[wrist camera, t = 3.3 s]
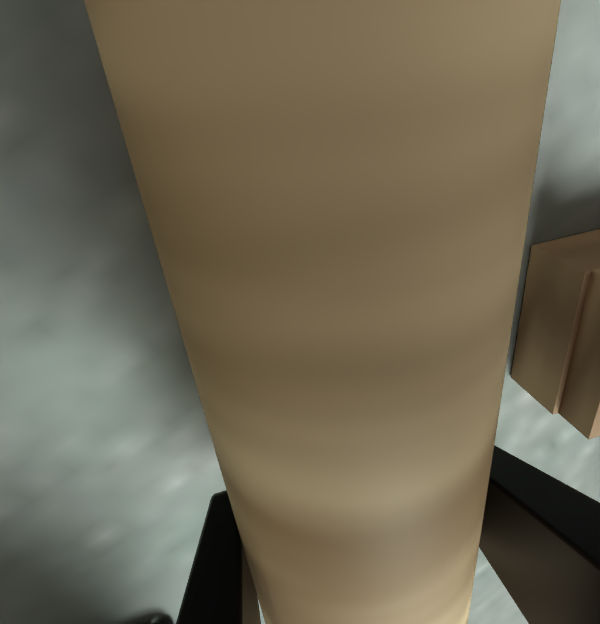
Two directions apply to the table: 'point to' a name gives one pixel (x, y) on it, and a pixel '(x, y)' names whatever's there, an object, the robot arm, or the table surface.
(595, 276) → the block
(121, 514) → the table surface
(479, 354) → the rod
